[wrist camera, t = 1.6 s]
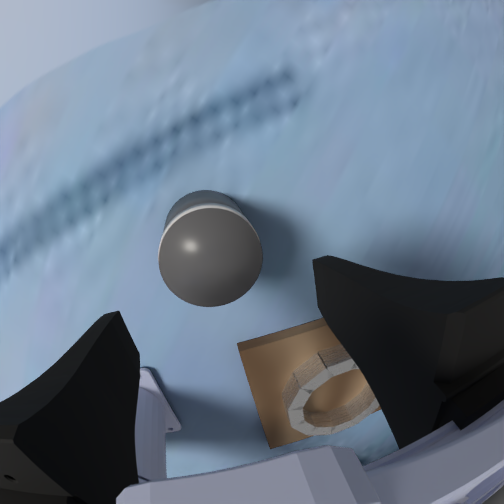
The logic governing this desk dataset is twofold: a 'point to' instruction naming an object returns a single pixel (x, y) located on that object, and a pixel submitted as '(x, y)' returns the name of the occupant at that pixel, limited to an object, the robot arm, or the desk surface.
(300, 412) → the mount ring
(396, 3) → the desk surface
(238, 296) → the charcoal lens
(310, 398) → the walnut board
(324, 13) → the desk surface
